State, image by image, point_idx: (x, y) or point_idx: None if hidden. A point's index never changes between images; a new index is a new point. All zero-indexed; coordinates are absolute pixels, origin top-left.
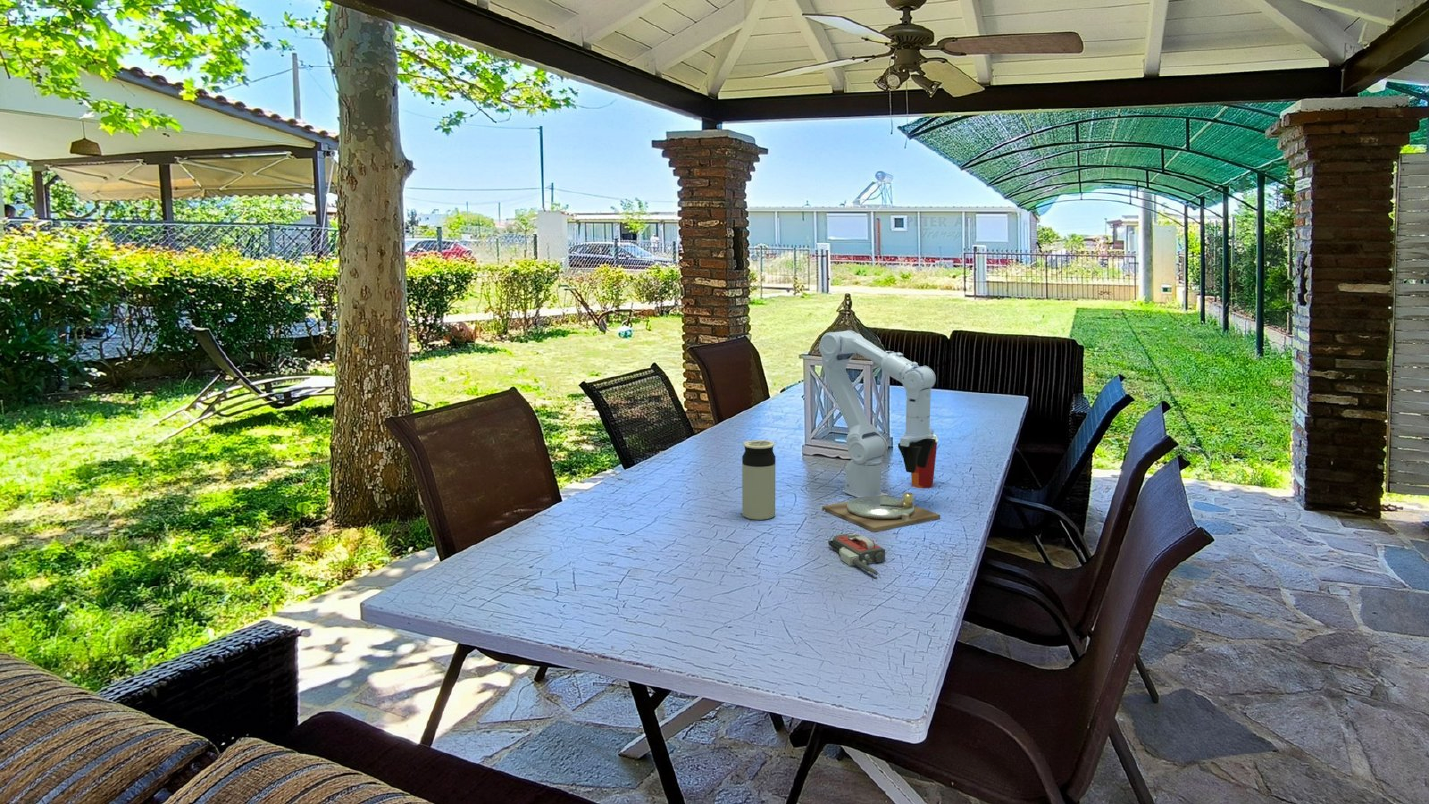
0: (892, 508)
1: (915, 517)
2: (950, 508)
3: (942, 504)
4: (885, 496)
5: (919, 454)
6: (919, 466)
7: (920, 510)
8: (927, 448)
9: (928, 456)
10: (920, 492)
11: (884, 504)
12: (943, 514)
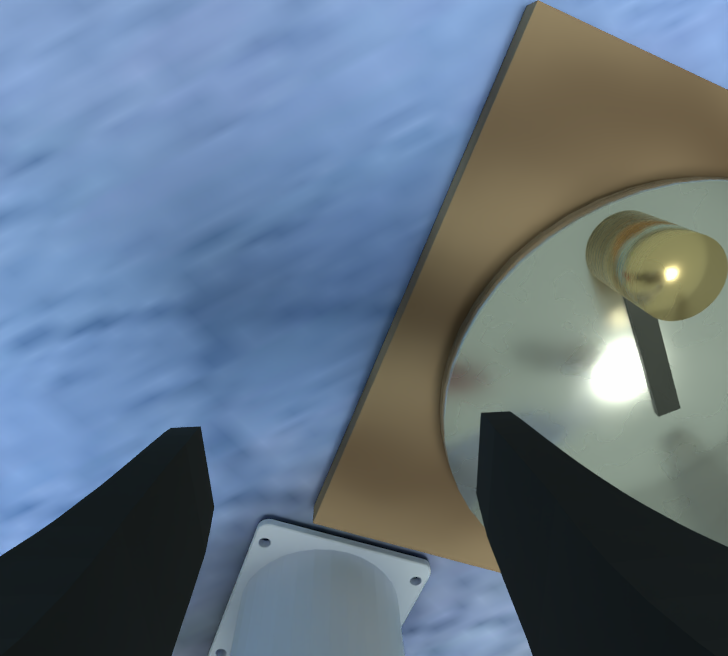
0: (707, 314)
1: (703, 130)
2: (215, 72)
3: (164, 175)
4: (345, 507)
5: (157, 629)
6: (207, 491)
7: (513, 187)
8: (74, 640)
9: (101, 504)
10: (25, 426)
11: (657, 393)
12: (399, 41)
